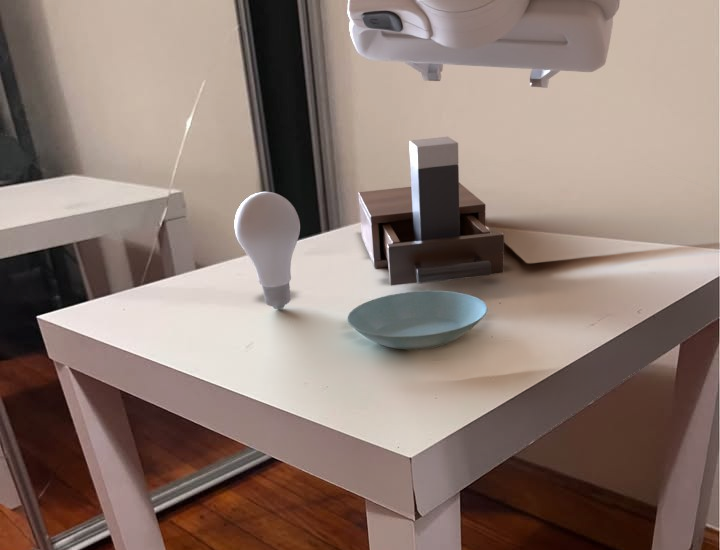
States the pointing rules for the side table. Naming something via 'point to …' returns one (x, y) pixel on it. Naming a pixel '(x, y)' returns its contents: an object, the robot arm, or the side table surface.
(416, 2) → the robot arm
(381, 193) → the cabinet
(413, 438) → the side table surface
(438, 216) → the two-tone tall pillar
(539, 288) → the side table surface
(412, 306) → the saucer
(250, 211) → the lightbulb
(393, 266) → the drawer
